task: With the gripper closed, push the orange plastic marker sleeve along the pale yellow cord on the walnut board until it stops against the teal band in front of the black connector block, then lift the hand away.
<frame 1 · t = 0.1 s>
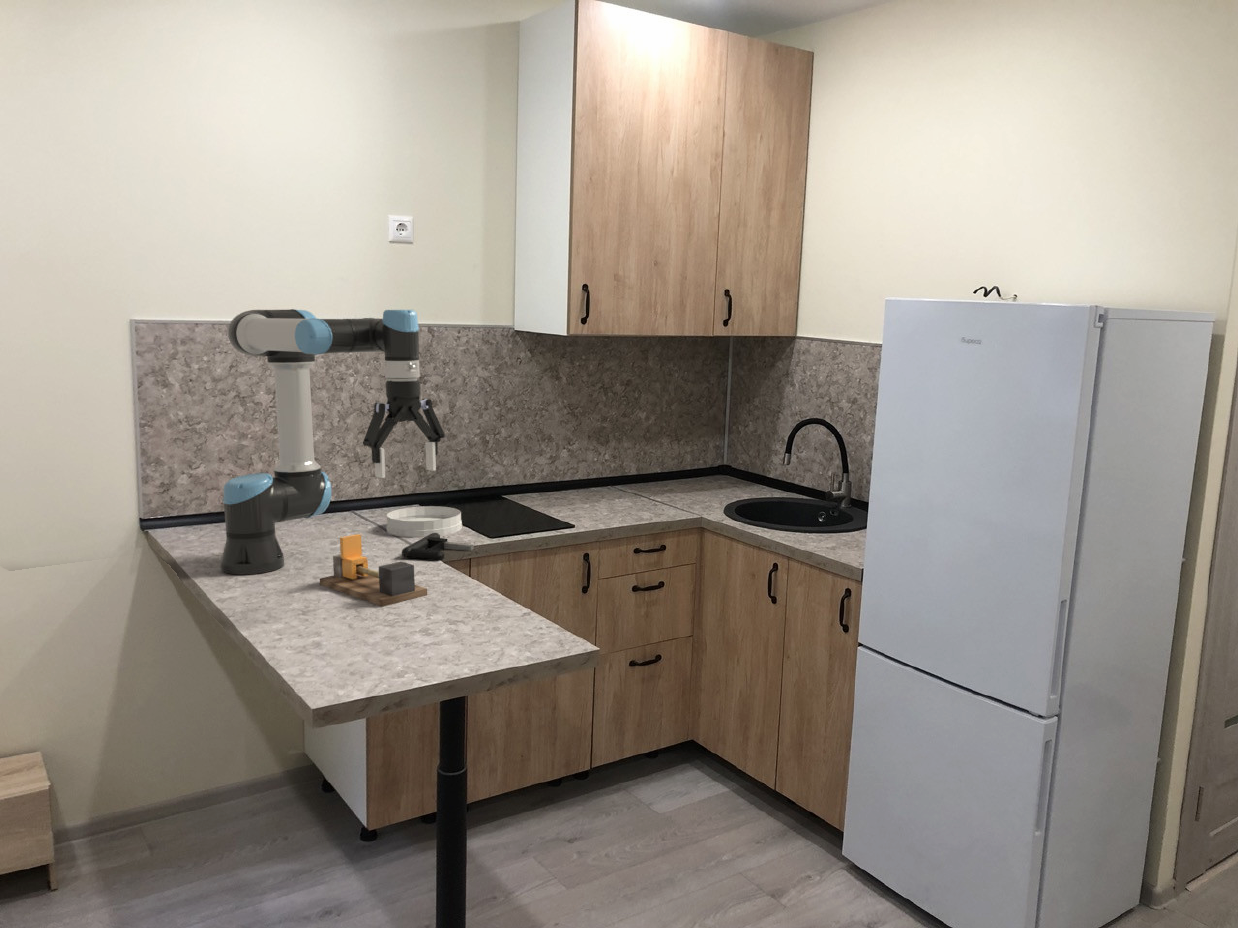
hand: (406, 473, 221), 28 cm above the worktop, tool pointing down, fingers open, 13 cm apart
door handle: (440, 553, 264), on the worktop
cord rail: (372, 589, 228), on the worktop
sleeve: (354, 556, 232), point 7 cm above the worktop, slide at 0.0 cm
dish: (424, 530, 292), on the worktop
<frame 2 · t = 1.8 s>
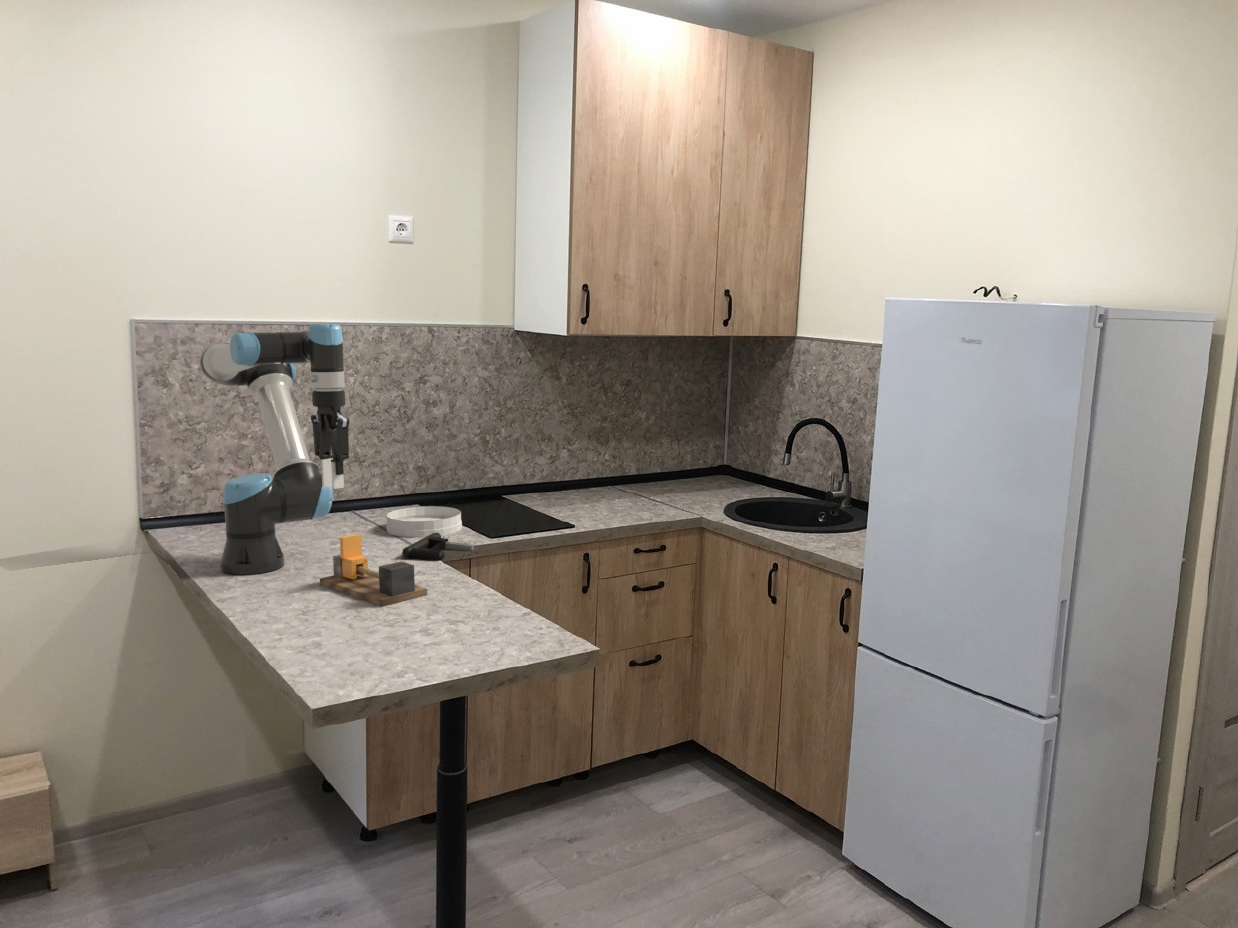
hand: (333, 486, 235), 23 cm above the worktop, tool pointing down, fingers open, 4 cm apart
nothing on the worktop moved.
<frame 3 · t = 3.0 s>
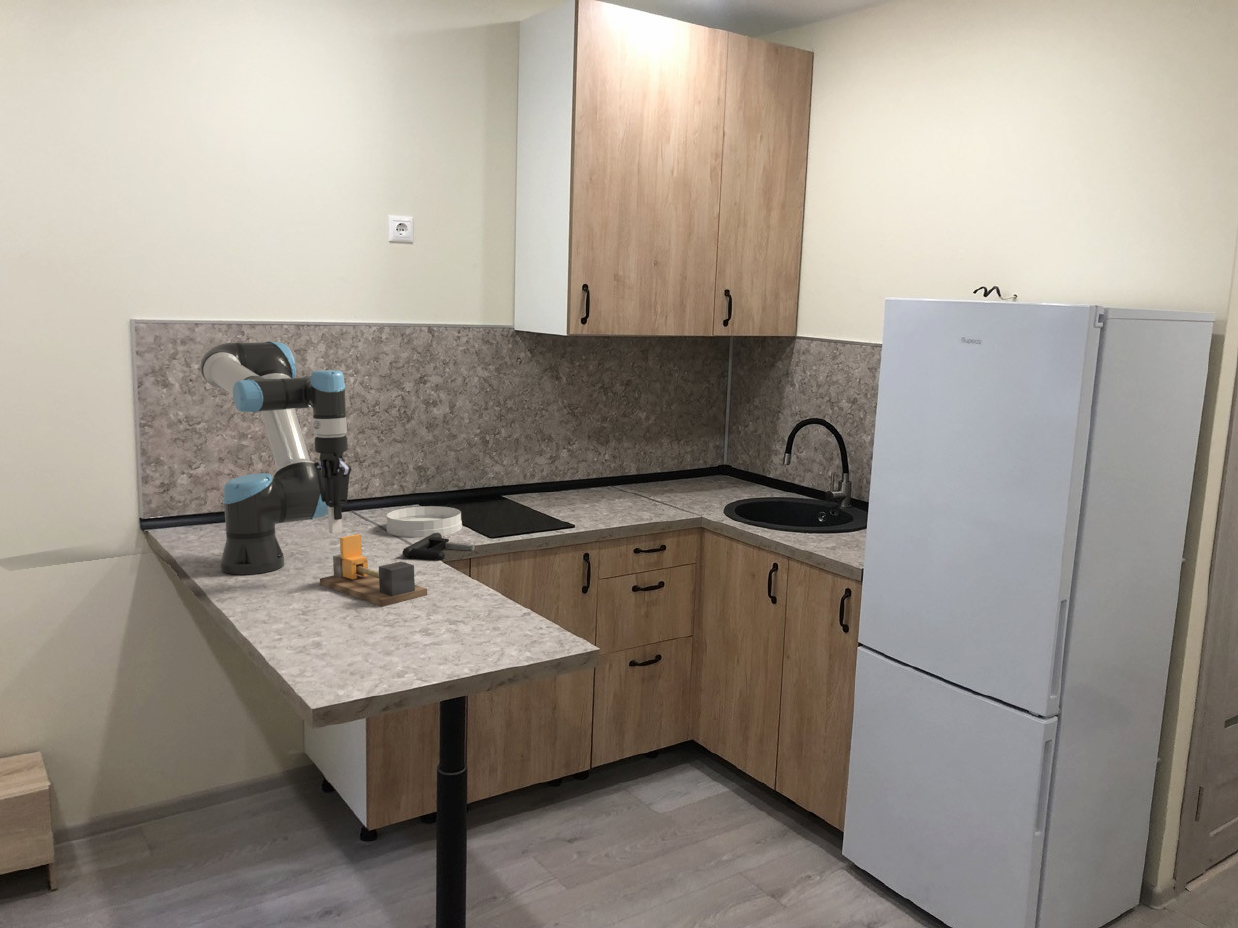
hand: (335, 532, 236), 11 cm above the worktop, tool pointing down, fingers closed
nothing on the worktop moved.
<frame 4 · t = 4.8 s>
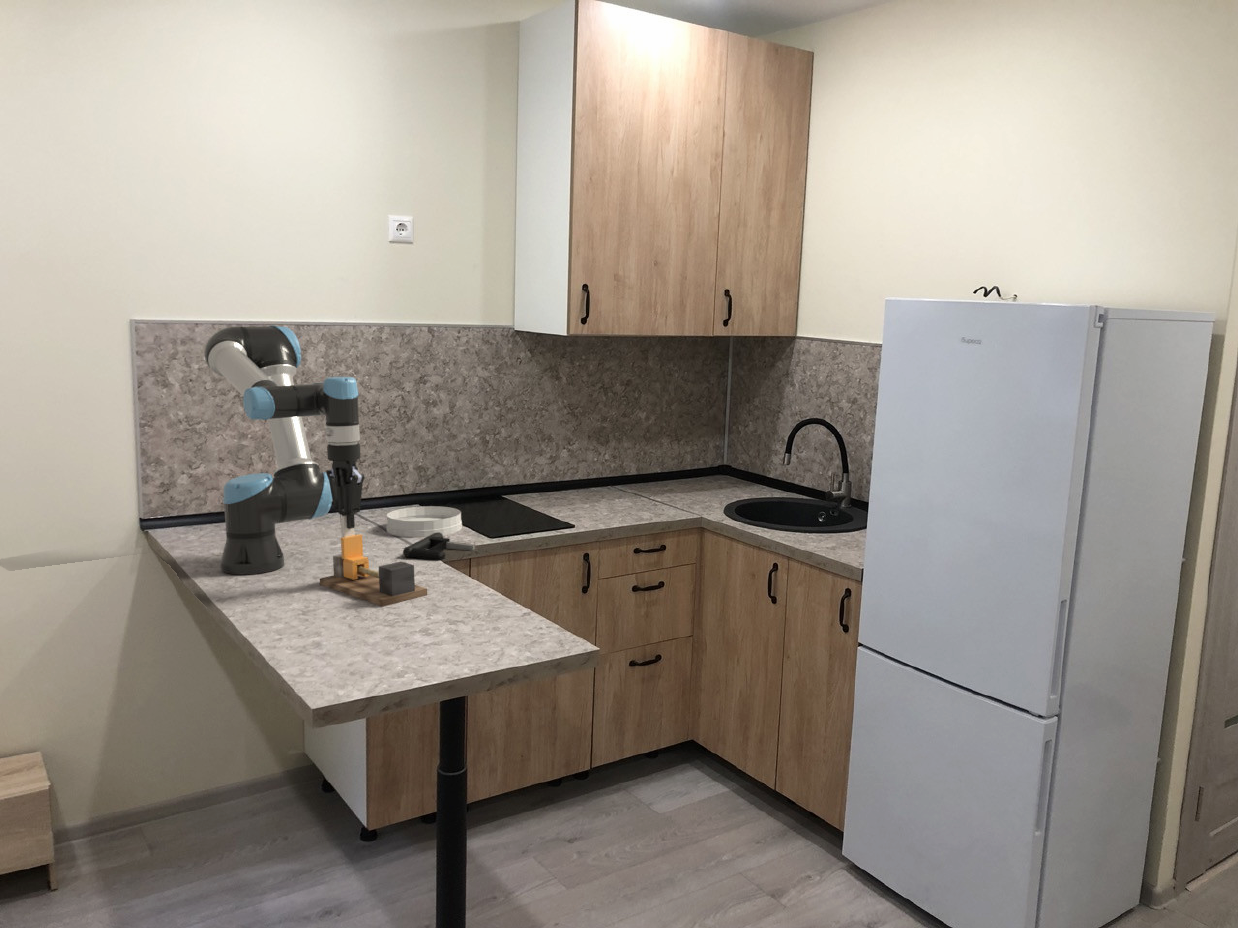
hand: (348, 541, 233), 10 cm above the worktop, tool pointing down, fingers closed
sleeve: (355, 556, 232), point 7 cm above the worktop, slide at 0.4 cm, touching gripper
everything else where it was.
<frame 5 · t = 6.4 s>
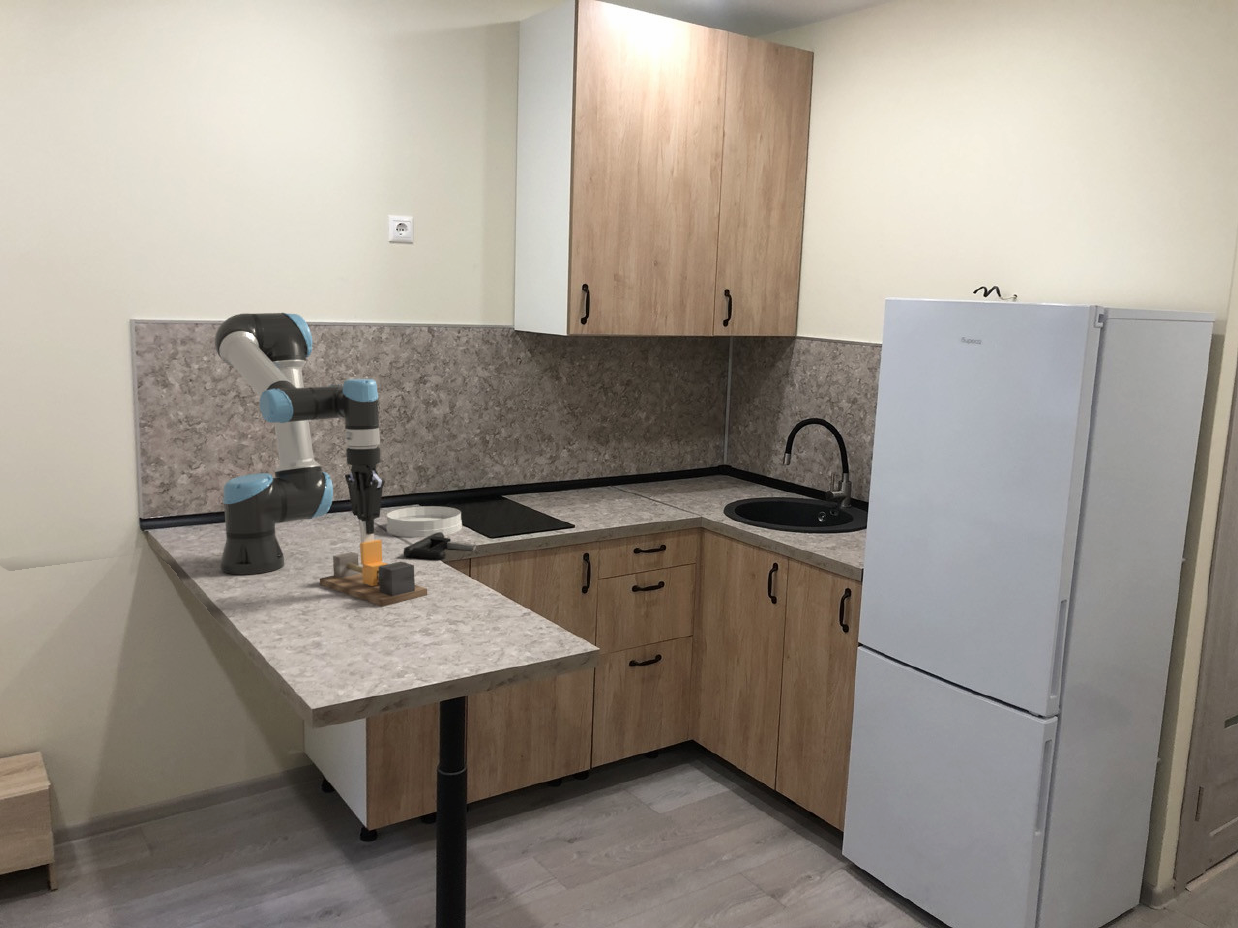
hand: (367, 546, 227), 10 cm above the worktop, tool pointing down, fingers closed
sleeve: (375, 562, 226), point 7 cm above the worktop, slide at 8.5 cm, touching gripper
everything else where it was.
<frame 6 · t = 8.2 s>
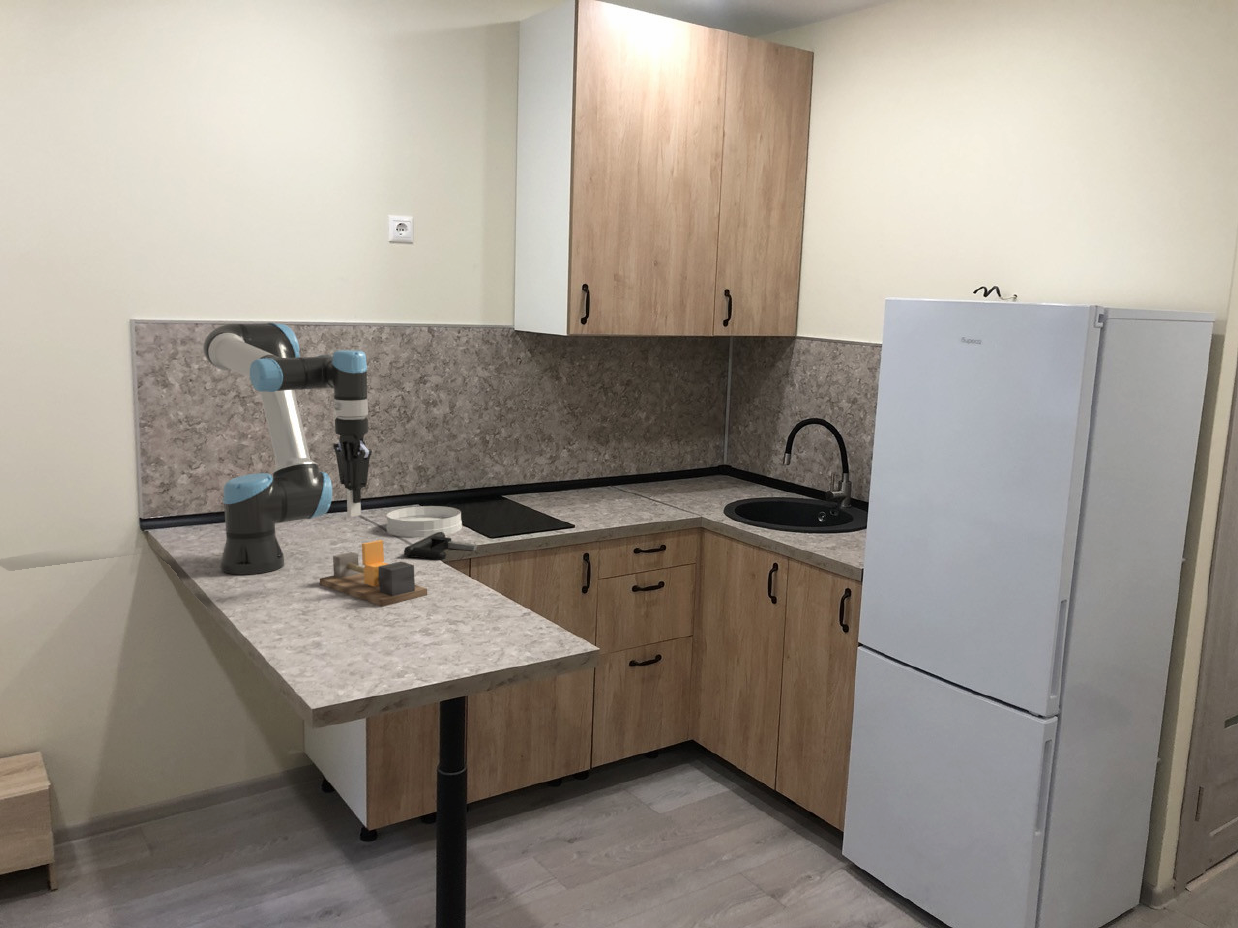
hand: (354, 515, 232), 16 cm above the worktop, tool pointing down, fingers closed
sleeve: (376, 563, 226), point 7 cm above the worktop, slide at 9.2 cm
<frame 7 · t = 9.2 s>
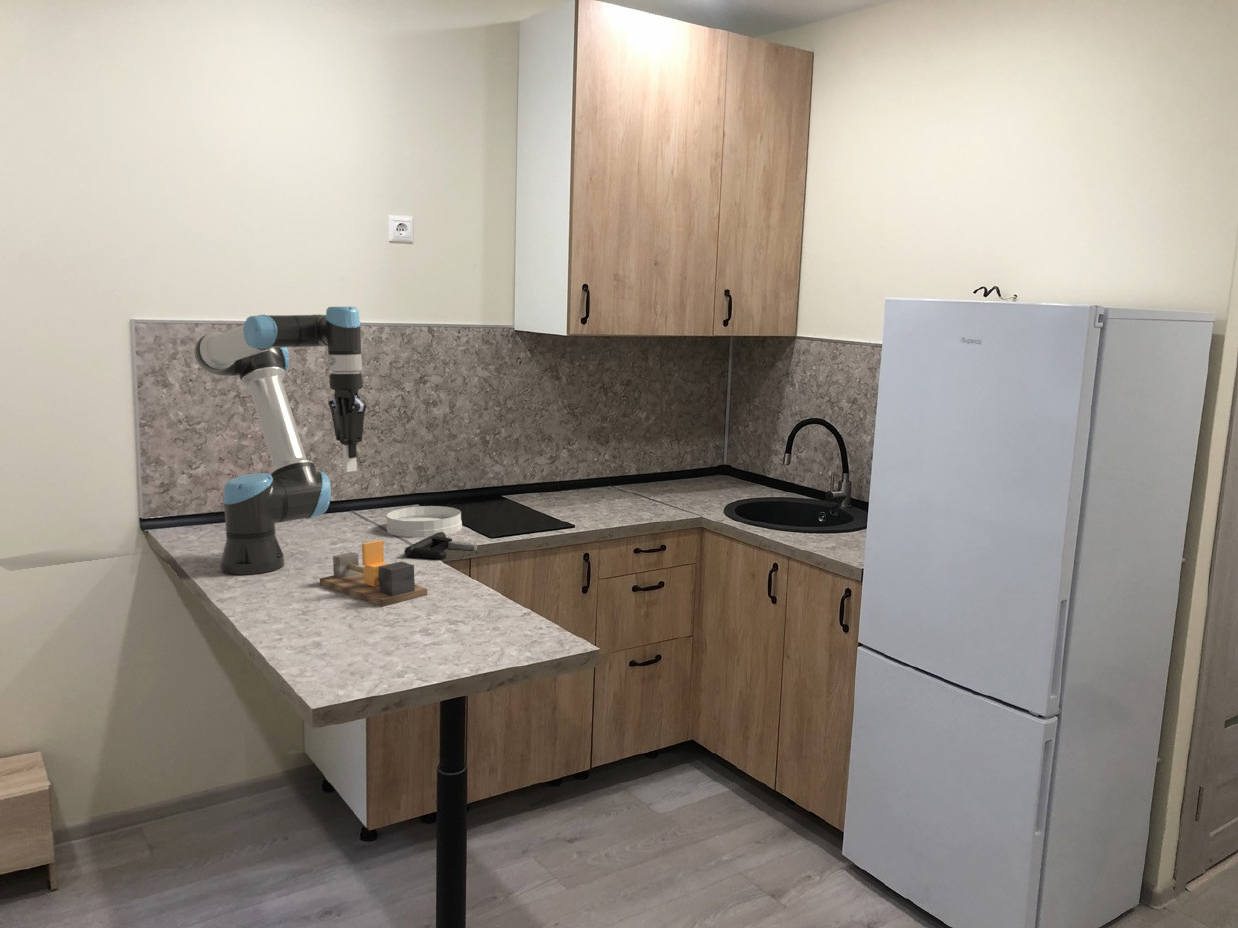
hand: (350, 471, 234), 26 cm above the worktop, tool pointing down, fingers closed
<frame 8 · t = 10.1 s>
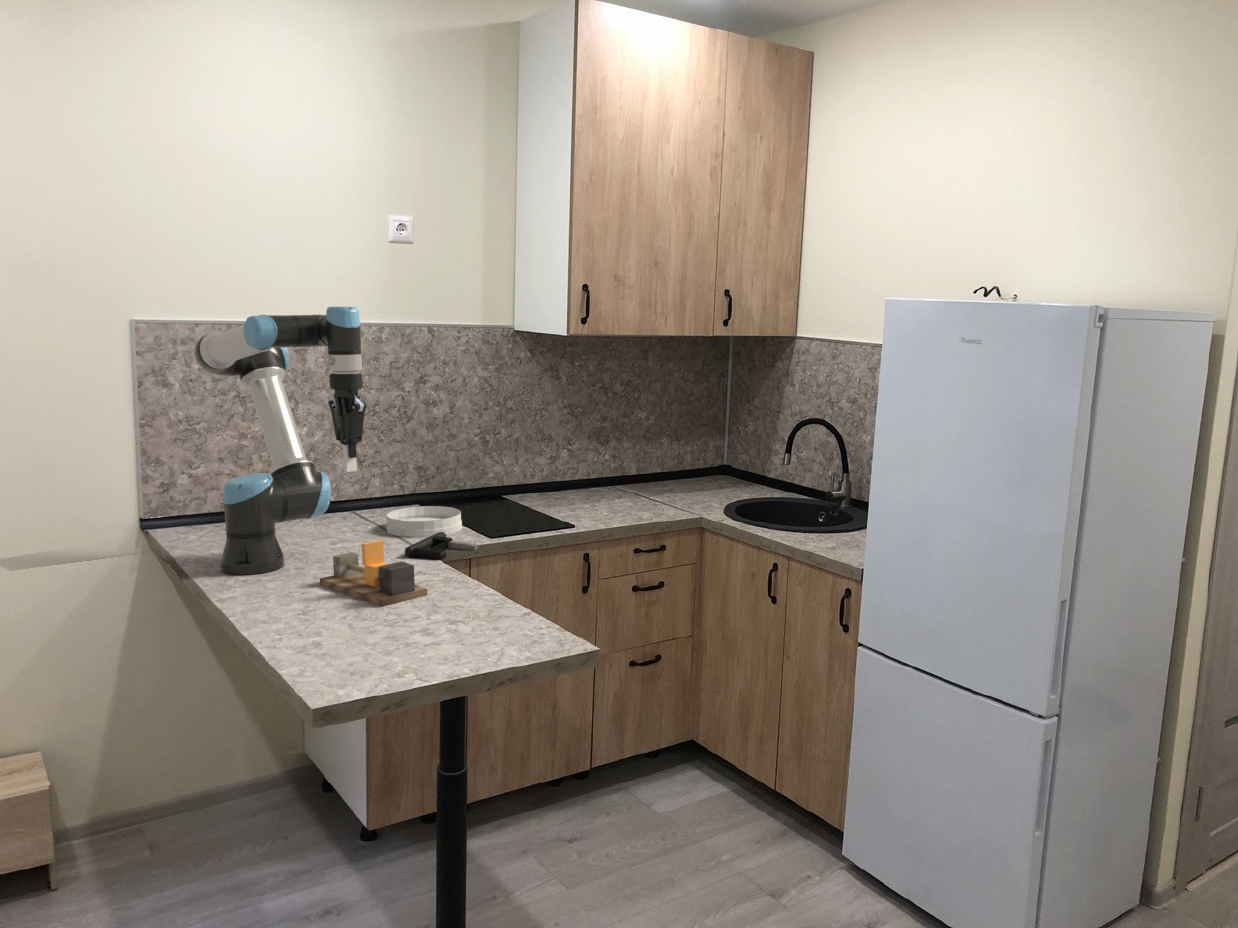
hand: (350, 471, 234), 26 cm above the worktop, tool pointing down, fingers closed
at the end: sleeve slide at 9.2 cm; door handle moved 1.5 cm from its start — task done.
